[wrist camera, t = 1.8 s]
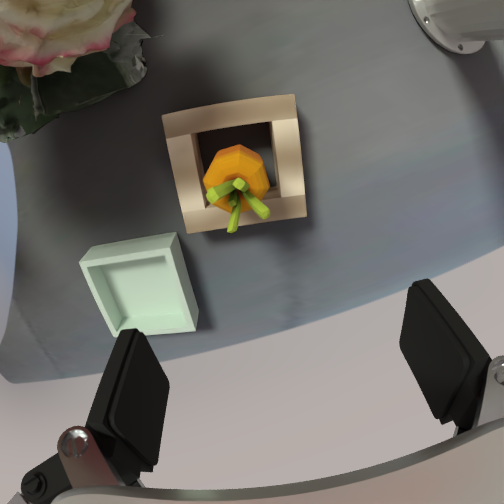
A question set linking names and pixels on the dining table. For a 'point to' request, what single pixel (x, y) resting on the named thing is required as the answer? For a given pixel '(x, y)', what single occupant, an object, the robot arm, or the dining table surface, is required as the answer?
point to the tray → (142, 285)
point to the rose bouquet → (64, 58)
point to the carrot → (237, 183)
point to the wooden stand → (227, 115)
